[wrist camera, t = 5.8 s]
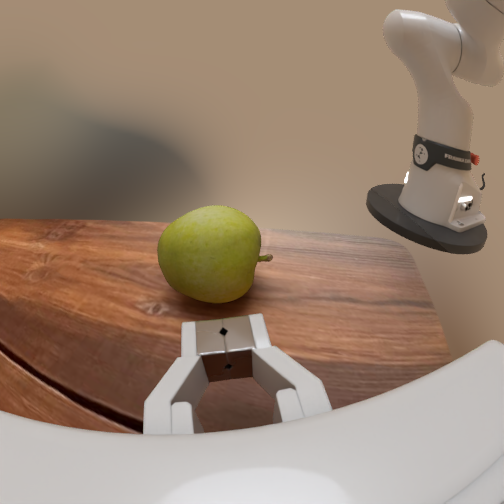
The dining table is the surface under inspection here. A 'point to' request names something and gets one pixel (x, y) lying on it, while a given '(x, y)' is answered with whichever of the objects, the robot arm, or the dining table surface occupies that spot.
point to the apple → (211, 254)
